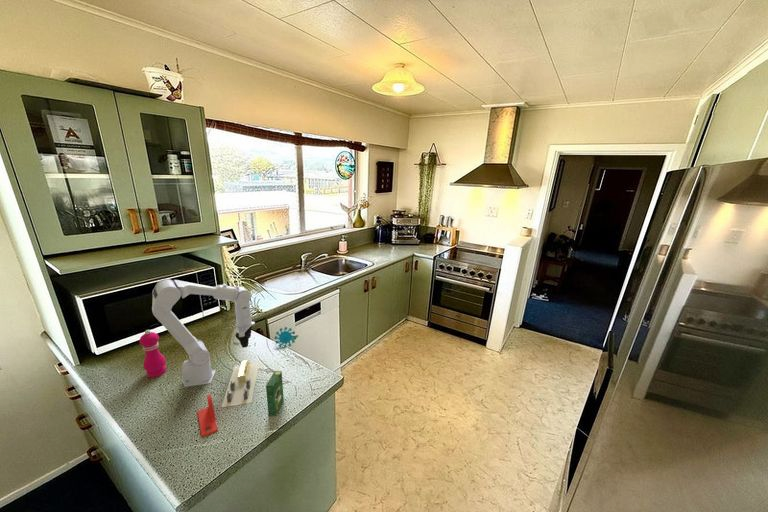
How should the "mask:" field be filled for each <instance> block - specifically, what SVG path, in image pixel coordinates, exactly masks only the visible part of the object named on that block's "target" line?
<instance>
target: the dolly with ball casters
mask: <svg viewBox="0 0 768 512" xmlns="http://www.w3.org/2000/svg"><path fill="white" fill-rule="evenodd" d="M229 382H230V381H229ZM230 383H231V384H230V389H231V391H228V392H227V402H231V400H232V397H233V396H232V391H234V390H235V387H236V386H235V381H231V382H230ZM250 386H251V380H250V379H249V378H248V379H246V389H244V394H243V395H244V400H246V399H248V395H249V393H248V389H250Z"/></svg>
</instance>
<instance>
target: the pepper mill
mask: <svg viewBox="0 0 768 512" xmlns="http://www.w3.org/2000/svg"><path fill="white" fill-rule="evenodd" d="M159 340H160V336H159V334H158V333H156V332H153V331H151V329H145V331H144V334H142V335H141V336H140V337H139V344H140V345H141V346H142V350H143V351H145V358H144V360H143V369H144V371H146V374H147V377H149V378H156V377H159V376H162V375H163V374H165V373H166V371H167V367H166V364H167V363H166V362H167V361H166V360H167V359H166V358H165V356H164V355H163V354H162V353H161V352H160V350H159V346H160V345H159Z"/></svg>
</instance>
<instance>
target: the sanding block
mask: <svg viewBox="0 0 768 512" xmlns="http://www.w3.org/2000/svg"><path fill="white" fill-rule="evenodd" d="M250 364H251V361H250V359H248V360H242V361H241V364H240V365H241V367H240V370H239V374H238V383H245V382H246V379H247V377H248V373H249V369H250Z"/></svg>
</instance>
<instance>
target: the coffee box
mask: <svg viewBox="0 0 768 512" xmlns="http://www.w3.org/2000/svg"><path fill="white" fill-rule="evenodd" d="M265 388H266V389H265V390H266V401H267V402H266V403H267V415H268V416H273V417H274V416H277V413H278V412H279V410H280V408H281V406H282V404H283V401H284V399H285V397H284V386H283V372H282V370H274V372H273V373H272V375H271V376H270V377H269V380H268V381H267V383H266V384H265Z"/></svg>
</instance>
